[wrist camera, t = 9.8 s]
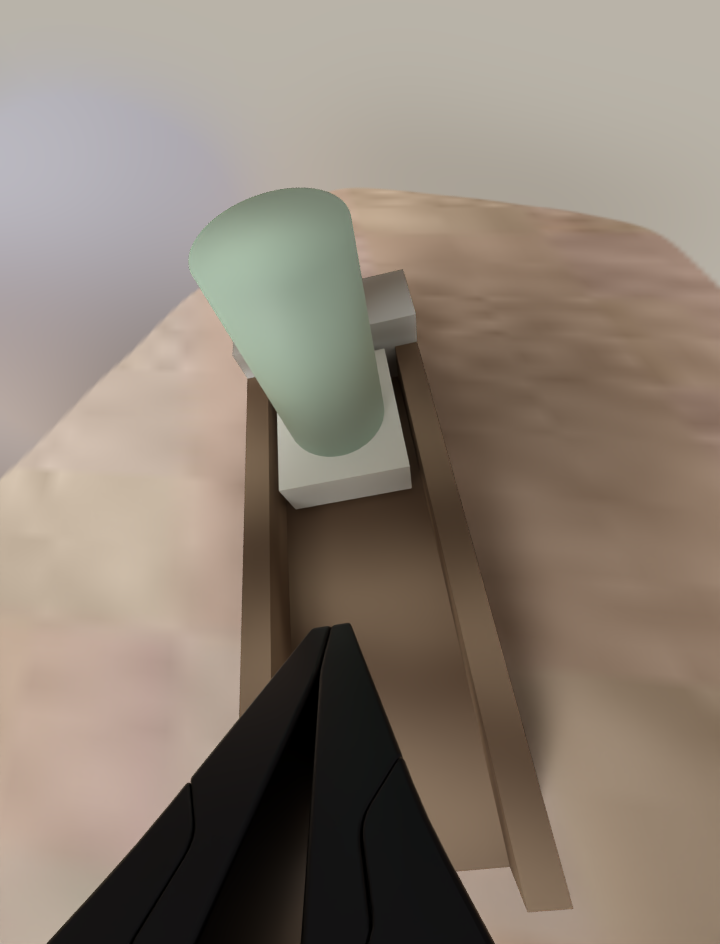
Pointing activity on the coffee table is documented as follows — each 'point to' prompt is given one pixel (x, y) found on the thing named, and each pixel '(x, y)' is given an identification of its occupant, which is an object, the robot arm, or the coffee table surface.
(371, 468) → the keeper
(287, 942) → the robot arm
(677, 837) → the coffee table surface
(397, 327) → the brown wooden open box
